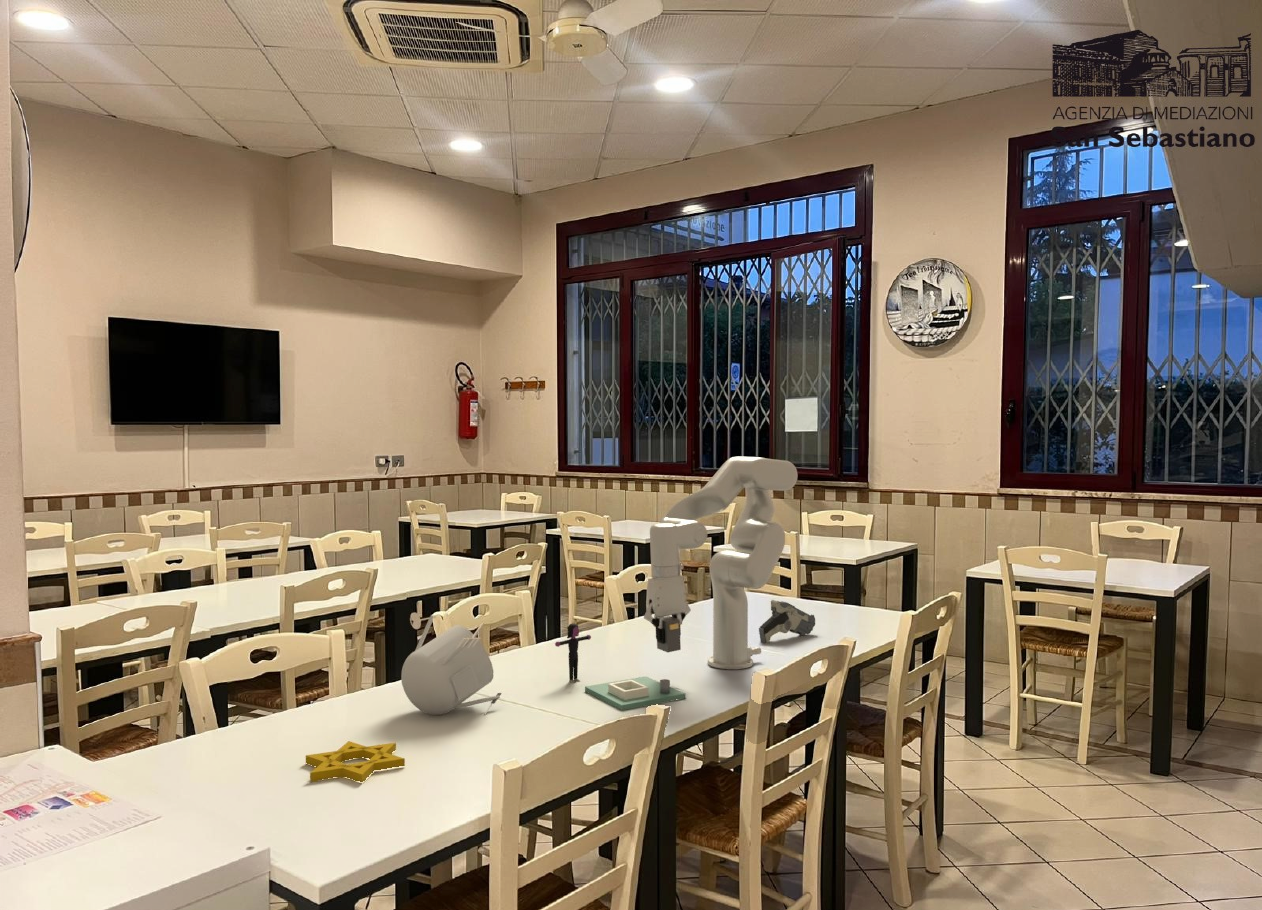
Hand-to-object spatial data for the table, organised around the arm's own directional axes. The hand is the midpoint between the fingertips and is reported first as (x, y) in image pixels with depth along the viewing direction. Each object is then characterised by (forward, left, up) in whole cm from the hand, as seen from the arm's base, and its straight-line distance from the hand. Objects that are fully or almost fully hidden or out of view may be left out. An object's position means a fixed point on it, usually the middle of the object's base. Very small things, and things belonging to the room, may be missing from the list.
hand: (668, 640), depth 235 cm
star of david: (+85, +18, -11) cm, 88 cm away
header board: (+14, +6, -11) cm, 19 cm away
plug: (0, 0, -2) cm, 2 cm away
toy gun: (-59, -21, -11) cm, 63 cm away
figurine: (+21, -13, -11) cm, 27 cm away
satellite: (+57, -5, -11) cm, 59 cm away
